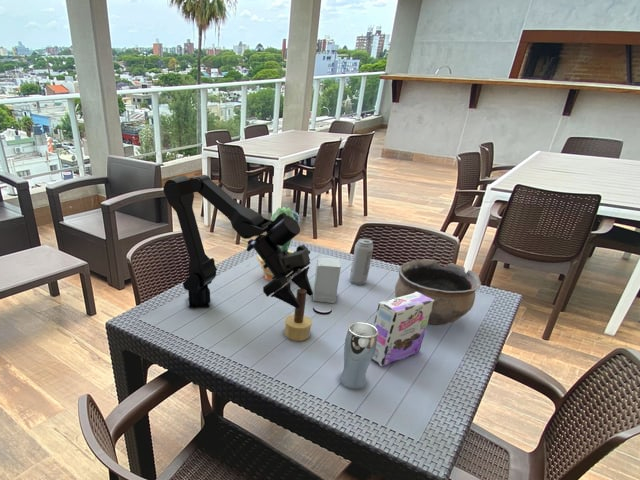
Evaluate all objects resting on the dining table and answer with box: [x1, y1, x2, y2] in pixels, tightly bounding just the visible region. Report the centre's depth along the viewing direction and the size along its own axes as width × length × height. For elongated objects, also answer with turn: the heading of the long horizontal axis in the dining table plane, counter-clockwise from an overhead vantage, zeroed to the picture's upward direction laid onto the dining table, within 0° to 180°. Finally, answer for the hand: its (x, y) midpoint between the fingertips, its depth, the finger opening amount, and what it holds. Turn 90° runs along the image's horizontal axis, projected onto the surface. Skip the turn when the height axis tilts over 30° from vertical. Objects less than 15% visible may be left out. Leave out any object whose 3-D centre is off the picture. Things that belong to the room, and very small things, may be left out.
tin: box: [284, 323, 312, 342], centre depth 124 cm, size 7×7×4 cm
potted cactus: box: [256, 206, 301, 282], centre depth 152 cm, size 15×15×25 cm
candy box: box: [371, 292, 434, 367], centre depth 112 cm, size 14×6×16 cm, turn 117°
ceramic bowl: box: [394, 258, 482, 326], centre depth 130 cm, size 22×22×15 cm
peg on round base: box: [284, 288, 313, 329], centre depth 121 cm, size 8×8×11 cm
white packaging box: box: [312, 257, 342, 304], centre depth 142 cm, size 7×7×13 cm
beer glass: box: [339, 321, 378, 390], centre depth 103 cm, size 7×7×15 cm
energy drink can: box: [349, 238, 375, 285], centre depth 152 cm, size 6×6×15 cm
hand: (305, 301), depth 119 cm, fingers open, 8 cm apart
